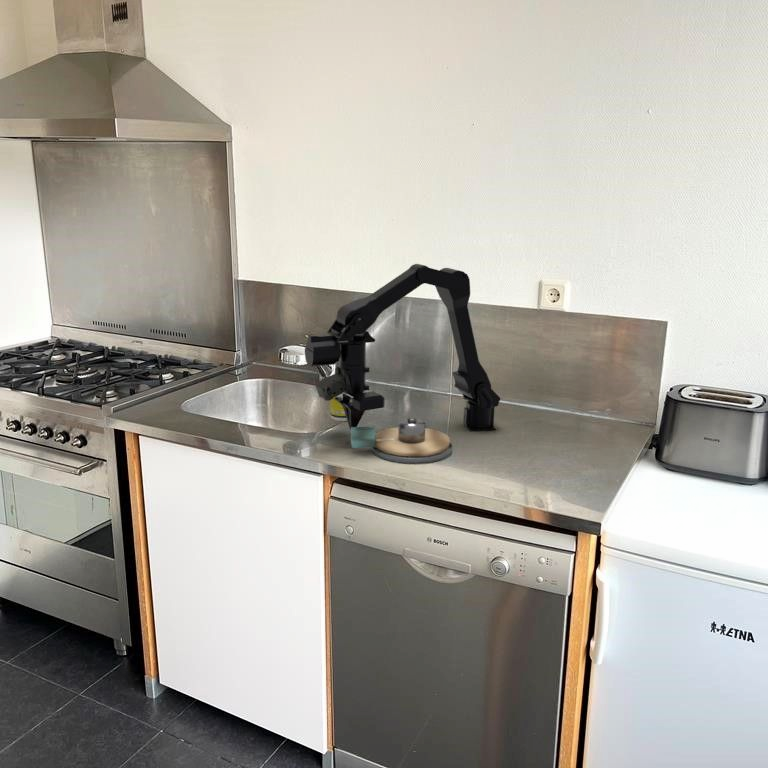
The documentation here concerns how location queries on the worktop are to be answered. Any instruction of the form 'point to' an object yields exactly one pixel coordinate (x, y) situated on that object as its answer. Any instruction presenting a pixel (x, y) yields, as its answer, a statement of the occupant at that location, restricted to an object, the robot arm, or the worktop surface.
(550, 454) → the worktop surface
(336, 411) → the pill bottle
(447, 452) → the base
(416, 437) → the cover
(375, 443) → the turntable
